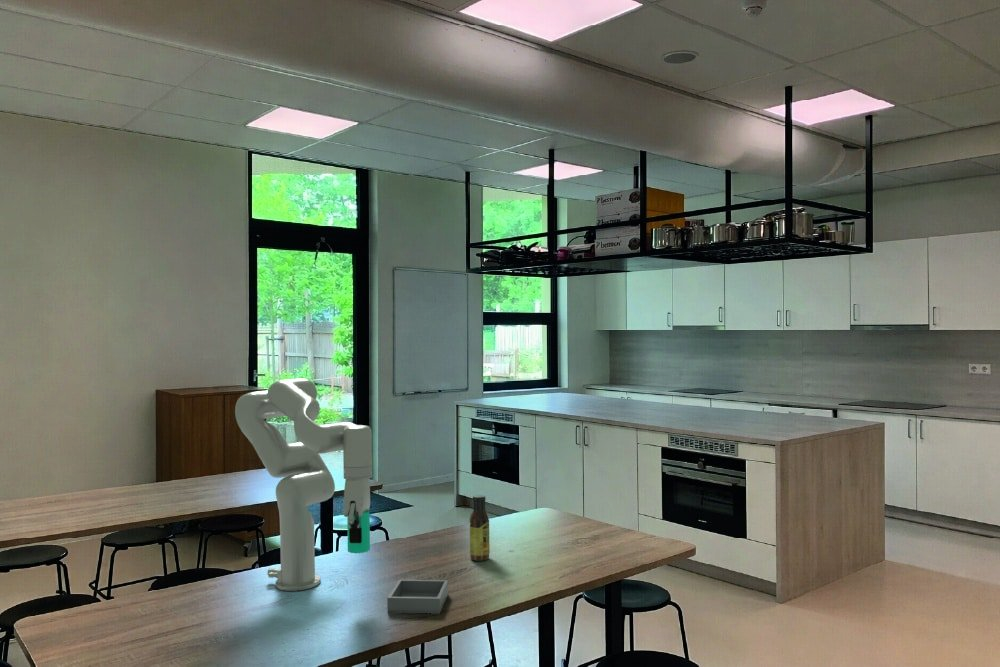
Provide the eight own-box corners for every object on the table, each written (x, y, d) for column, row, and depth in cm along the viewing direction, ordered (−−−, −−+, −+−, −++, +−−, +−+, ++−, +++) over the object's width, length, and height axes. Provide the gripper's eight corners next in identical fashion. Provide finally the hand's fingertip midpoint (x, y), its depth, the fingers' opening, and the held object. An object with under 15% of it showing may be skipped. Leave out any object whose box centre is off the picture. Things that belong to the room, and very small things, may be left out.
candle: (359, 554, 192) (358, 509, 192) (342, 551, 195) (342, 506, 195) (374, 548, 197) (374, 504, 197) (358, 545, 200) (357, 501, 200)
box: (387, 613, 189) (387, 597, 189) (399, 594, 202) (399, 579, 202) (439, 614, 188) (439, 598, 188) (448, 594, 201) (447, 580, 201)
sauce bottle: (487, 562, 228) (486, 498, 228) (467, 561, 230) (466, 498, 230) (491, 556, 235) (490, 494, 235) (472, 555, 236) (471, 493, 236)
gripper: (353, 465, 205) (353, 530, 205) (334, 478, 188) (335, 549, 188) (379, 465, 204) (380, 530, 204) (362, 478, 187) (363, 549, 187)
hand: (358, 538), depth 196 cm, fingers closed on candle, 4 cm apart
